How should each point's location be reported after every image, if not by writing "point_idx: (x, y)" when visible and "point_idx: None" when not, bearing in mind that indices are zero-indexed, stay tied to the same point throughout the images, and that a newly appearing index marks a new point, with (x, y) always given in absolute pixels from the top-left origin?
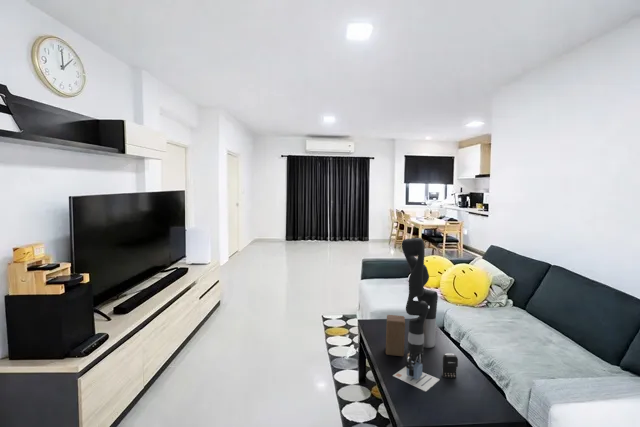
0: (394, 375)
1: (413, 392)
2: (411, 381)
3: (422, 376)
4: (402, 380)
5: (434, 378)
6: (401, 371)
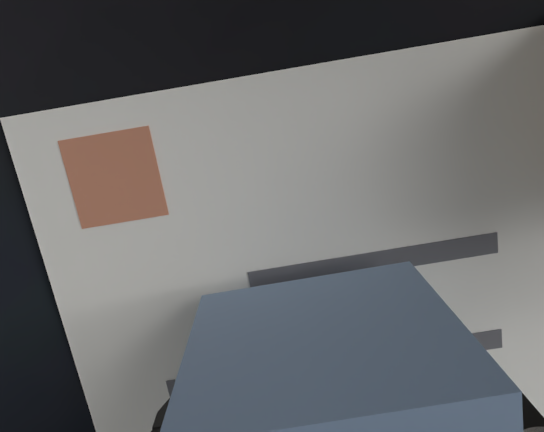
0: (35, 138)
1: None
2: None
3: None
4: (61, 317)
5: None
6: (259, 116)
